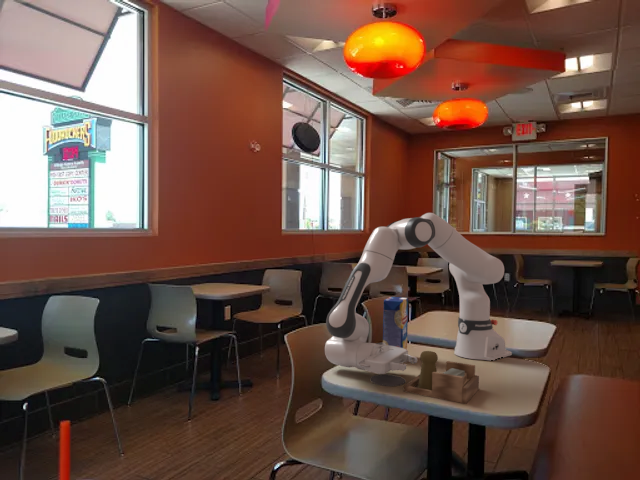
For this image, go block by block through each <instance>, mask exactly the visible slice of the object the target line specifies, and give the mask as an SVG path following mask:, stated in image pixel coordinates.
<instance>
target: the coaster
mask: <svg viewBox="0 0 640 480" xmlns="http://www.w3.org/2000/svg"><path fill="white" fill-rule="evenodd" d="M370 382H371V383H372V384H375V385H379V386H383V387H397V386H403V385H405V383H406V379H405V378H404V377H401V376H399V375H394V374H388V373H386V374H376V375H373V376H371V377H370Z"/></svg>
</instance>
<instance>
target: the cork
mask: <svg viewBox="0 0 640 480" xmlns="http://www.w3.org/2000/svg"><path fill="white" fill-rule="evenodd" d="M438 358H439V357H438V354H437V353H436V352H435V351H431V350H424V351H422V352H421V353H420V357H419V359H420V361H421V366H420V373H419V375H420V378H419V384H417V385H418V386H417V388H422V389H427V390H432V373H433V372H438V371H437V362H438V361H439V360H438Z"/></svg>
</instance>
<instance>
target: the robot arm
mask: <svg viewBox="0 0 640 480" xmlns="http://www.w3.org/2000/svg"><path fill="white" fill-rule="evenodd" d="M425 246H428V247H429V248H431V250H433V252H435V253H436V254H437V255H438V256H440V258H442V260H444V261H445V262H447V263H448V264H449V265H448V268H449V272H450V274H451V275H452V277H453V278H454V281H455V283H456V288H457V291H458V295H459V297H458V298H459V299H458V300H459V317H458V319H457V326H458V331H457V334H456V335H457V336H456V343H455V347H454V352H453V353H454V355H456V356H457V357H461V358H466V359H472V360H484V361H491V360H493V361H496V360H495V359H497V358H500V357H503V358H507V357H510V356H512V355H513V352H512V351H510V350H508V349H506V341H505V338H504V337H502V335H500V334H499V332H497V331H496V330H495V329H494V327H493V325H494V326H497V325H498V322H499V321H498V320H497V319H490V315H491V314H490V312H491V310H490V309H491V301H490V297H489V296H488V294H487V292H486V290H485V289H484V286H483V285H492V284H496V283H499V282H500V281H501V280H502V279H503V277H504V274H505V266H504V263H503V261H502V260H501V259H500V258H497V257H495V256H493V255H491V254H489V253H488V252H487V251H485V250H483V249H482V248H481V247H479V246H478V245H476V244H474V243H473V242H471V241H469V240H468V239H466V238H465V236H463V235H462V234H461V233H460V232H459V231H457V230H456V228H454V227H453V226H452V225H451V224H450V223H449V222H447V221H446V220H445V219H443V218H442V217H441V216H439V215H437V214H435V213H433V212H426V213H424V214H422V215H421V216H418V217H416V216H414V217H410V218H409V217H408V218H402V219H401V220H398V221H393V222H392V223H389V224H388V225H387V226H378V227H376V228H374V229H373V230H372V233H371V234H370V236H369V238H368V240H367V242H366V243H365V246H364V248H363V251H362V255H361V256H360V259H359V261H358V263H357V265H356V266H355V267H353V270H351V272H350V275H349V277H348V278H347V280H346V283H345V285H344V287H343V289H342V291H341V294H340V296H339V297H338V300H337V301H336V303H335V304H334V305H333V306H332V308H331V309H330V311H329V312H328V313H327V316H326V320H325V324H326V328H327V331H328V333H329V334H330V335H331V337H330V338H329V339H328V340H326V342H325V344H324V345H325V346H324V354H325V357H326V359H327V360H328V362H330V363H331V364H334V365H337V366H339V367H345V368H356V369H357V370H361V371H365V372H368V373H373V374H376V375H382V374H388V373H389V372H391V371H402V372H403V371H405V370H406V369H407V364H406V362H409V363H410V364H416V363H418V357H417V356H415V355H411V354H409V351H408V349H407V350H406V349H404V348H400V347H395V346H390V345H386V344H385V343H383V342H377V343H375V342H367V341H368V338H369V334H370V329H371V328H370V323H369V321H368V319H366V318H365V317H364V316H363V315H361V314H359V313H357V311H356V308H357V306H358V304H359V303H360V299H361V297H362V294H363V292H364V290H365V288H367V286H368V285H369V284H372V283H377V282H381V281H383V280H385V279H386V278H387V277H388V275H389V274H390V271H391V269H392V267H393V263H394V261H395V258H396V257H395V256H396V254H397V253H398V250H399V251H402V250H412V249H416V248H417V249H418V248H422V247H425ZM500 359H501V358H500ZM497 360H498V359H497Z"/></svg>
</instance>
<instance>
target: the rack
mask: <svg viewBox="0 0 640 480" xmlns="http://www.w3.org/2000/svg"><path fill="white" fill-rule="evenodd" d="M419 378H420V374H418V375H417V376H416V377H414V378H413V379H411V380H410V381H409V382H408V383H406V384H404V386H403V392H406V393H409V394H415V395H421V396H424V397H425V396H426V397H430V398H434V399H440V400H445V401H449V402H456V403H461V404H465V405H466V404H467V403H468V402H469V401H470V400H471V398H473V397H474V395H475V394H476V393H477V392H478V391H479V389H480V375H476V365H475V364H468V363H462V362H456V361H449V360H448V361H446V362H445V371H443V372H438V371H437V372H433V373H432V390H427V389H422V388H418V386H417V385H419ZM416 386H417V387H416Z"/></svg>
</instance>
